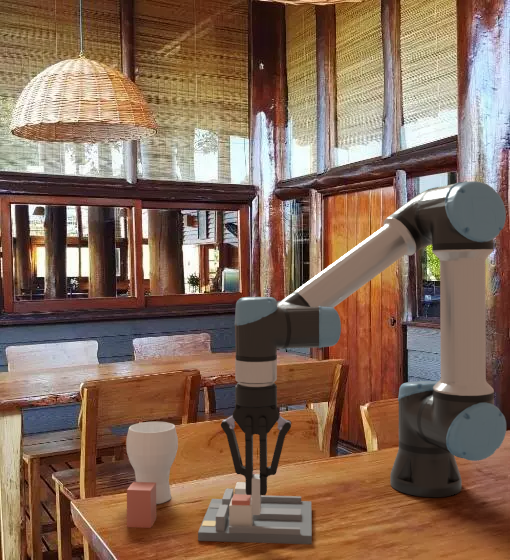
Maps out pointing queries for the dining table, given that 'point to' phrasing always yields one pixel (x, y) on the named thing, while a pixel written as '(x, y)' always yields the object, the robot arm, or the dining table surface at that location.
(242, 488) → the block
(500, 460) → the dining table surface
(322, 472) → the dining table surface
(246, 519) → the block
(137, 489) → the cap
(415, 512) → the dining table surface
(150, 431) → the cup
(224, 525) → the panel
